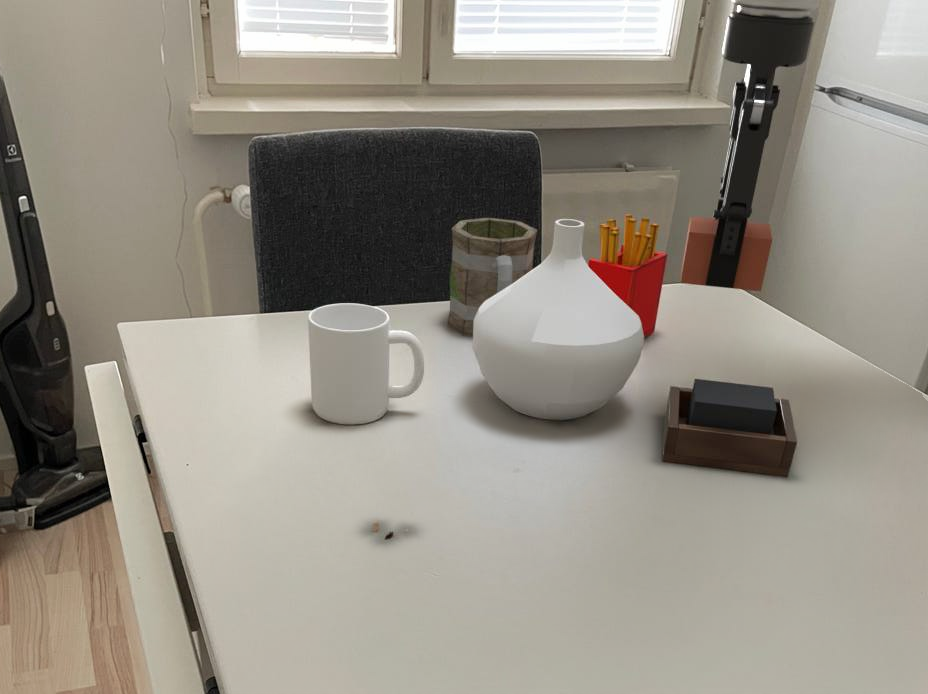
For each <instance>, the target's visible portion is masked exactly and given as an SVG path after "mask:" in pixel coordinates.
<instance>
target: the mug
mask: <svg viewBox="0 0 928 694" xmlns="http://www.w3.org/2000/svg"><path fill="white" fill-rule="evenodd" d="M537 234H538V229H536V228H535V227H532V226H530V225H528V224H526V223H524V222H522V221H521V220H520V221H519V220H513V219H512V220H511V219H504V218H503V219H502V218H496V217H480V218H471V219H462V220H459V221H458V222H457V223H456V224H455V225H454V226H453V227H452V228H451V241H452V249H451V250H452V251H451V265H450V271H449V295H450V296H449V312H448V318H447V323H446V324H447V326H448V327H450V328H452V330H455V331H456V332H458V333H459V334H460V335H462V336H466V337H472V338H473V324H474V318H475V316H476V314H477V312H478V309H479V307H480V306H481V305H482V304H483V303H484V301H486V300H487V299H489V298H491V297H492V296H494V295H495V294H497V293H498V292H500V291H502V290H503V289H505V288H506V287H508V286H509V285H511V284H513V283H514V282H516V281H517V280H518V279H520V278H521V277H523V276H524V275H526V274H527V273H528V272H530V271H531V270H533V269H534V268H533V266H534V263H533V262H534V250H535V243H536V238H537Z"/></svg>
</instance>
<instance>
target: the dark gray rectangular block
mask: <svg viewBox="0 0 928 694" xmlns="http://www.w3.org/2000/svg"><path fill="white" fill-rule="evenodd" d="M692 389H693V390H692V395H691V400H690V405H689V410H688V415H687V420H686V425H693V426H702V427H710V428H718V429H727V430H735V431H743V432H751V433H760V434H768V435H771V432H772V428H773V424H774V420H775V417H776V413H777V409H776V403H775V398H776V397H775V391H774V387H770V386H762V385H754V384H746V383H745V384H744V383H736V382H727V381H718V380H711V379H710V380H709V379H702V378H694V381H693V387H692Z"/></svg>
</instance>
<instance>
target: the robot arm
mask: <svg viewBox="0 0 928 694" xmlns="http://www.w3.org/2000/svg"><path fill="white" fill-rule="evenodd" d="M731 2H732V3H733V5H734V6H737V10H736V11H732V12H731V13H730V15H728V17H727V21H726V28H725V33H724V38H723V44H722V50H721V54H722V57H723V59H724V60H726V61H728V62H730V63H734V64H739V65H746V70H745V74H744V78H741V79H740V82H739V81H736V82H735V84H734V87H733V92H732V112H731V117H730V121H729V132H730V133H729V135H730V136H729V137H730V139H729V143H728V148H727V153H726V158H725V163H724V168H723V173H722V174H723V175H722V177H721V178H720V182H719V183H720V188H719V193H718V194H719V198H718V200H717V205H716V209H715V210H713V213H712V219H718V223H717V228H716V233H715V238H714V243H713V249H712V254H711V259H710V264H709V269H708V274H707V279H706V287H714V286H715V288H725V289H734V288H733V286H734V282H735V277H736V272H737V267H738V263H739V258H740V253H741V249H742V244H743V239H744V234H745V230H746V225H747V222H748V219H749V218H750V217H751V215H752V214H753V213H752V212H753V208H752V206H753V201H754V197H755V191H756V187H757V183H758V177H759V172H760V168H761V164H762V158H763V155H764V148H765V143H766V141H767V140H768V138H769V136H770V132H771V125H772V121H773V120H772V119H773V115H774V111H775V110H776V109H777V107H778V105H779V104H778V103H779V99H780V95H781V94H780V93H781V89H780V88H779V85H778V84H774V82H775V76H776V69H777V68H779V67H782V68H783V67H784V68H794V67H799V66H802V65H803V64H804V63H805V62H806V60H807V56H808V53H809V47H810V43H811V38H812V35H813V29H814V26H815V21H813V19H814V18H813V17H811V16H810V15H811V12H812V11H816V10H817V8H819V6H820V3H821V0H731Z"/></svg>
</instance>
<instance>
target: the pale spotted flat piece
mask: <svg viewBox="0 0 928 694" xmlns="http://www.w3.org/2000/svg"><path fill="white" fill-rule="evenodd" d="M379 526H380V522H379V521H378V522H374V523H373V524H372V525H371V533H377V532H378V530H379ZM407 532H408V529H407V528H406V529H405V530H404V534H407ZM386 533H387V532H385V533H384V534H385V537H384V539H387V537H389V536H394V531H390V532H389V533H387V534H386Z"/></svg>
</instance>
